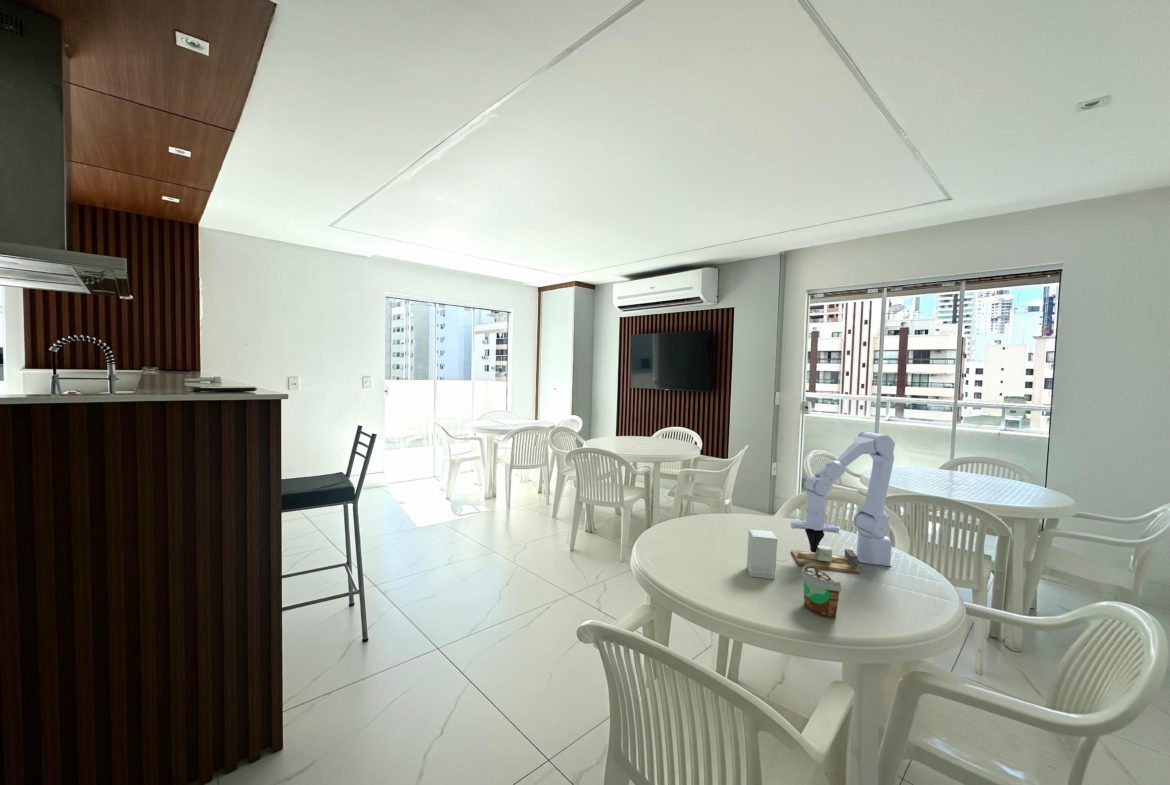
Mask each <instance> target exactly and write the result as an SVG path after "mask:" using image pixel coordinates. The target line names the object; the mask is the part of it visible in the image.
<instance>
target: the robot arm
mask: <svg viewBox="0 0 1170 785" xmlns="http://www.w3.org/2000/svg"><path fill="white" fill-rule="evenodd" d="M895 445H896V443H895V441H894V440H893V439H892V437H891V436H890V435H888V434H883V433H875V432H869V431H866V430H864V431H861V432H860V433H859V434H858V435H856V436H855V437H854V438H853V442H852V443H851V444H850V445H849V446H848V447H847V448H846V449H845V451H843V453H842V454H841V455H840V456H839V457H838V458H837V459H836V460H829V461H826V462H825V465H823V466H822V467H821V468H820V469H819V470H818V471H816V472H814V474H812V475H809V476H807V477H806V478H805V480H804V482H803V488H804V489H805V491H806V492H805V494H806V504H805V520H804V521H793V520H792V521H790V527H791V529H797V530H798V529H800V530H804V531H805V534H806V536H807V539H808V542H809V549H810V552H814V553H816V550H817V547H818V545H819V544H820V542H821V541H822V539H823V538H824V537H825V533H824V532H826V533H834V534H838V535H839V534H840V527H839V525H838V526H837V525H831V524H825V522H826V521H825V519H826V518H825V517H826V503H827V502H826V501H827V495H828V494H829V493H830V492H831V490H832V487H833V486H834V483H835V482H836V481H838V480H839V479H840V478H841V477H842V476H843V475H845V472H846V471H845V468H847V467H848V466H849V465H851V464H852V463H854V461H856V460H857V459H858V458H860V457H861V456H862V455H869V456H870V457H871V459H872V460H873V465H872V468H871V473H870V474H871V475H870V478H869V482H868V488H867V492H866V498H865V503H864V504H863V505H861V506H859V507H858V508H857V513H855V515H854V517H853V525H854V527H855V528H856V531H857V545H856V547H857V548H856V552H854V553H855V554H856V555H857V556H858V559H857V562H859V563H862V564H870V565H877V566H886V567H892V564H891V558H892V542H891V539H890V537H889V536H887V535H888V534H889V531H890V524H889V522H890V521H889V519H890V516H889V515H888V514H887V512H886V510H885V504H886V500H887V494H888V490H889V485H890V481H891V475H892V470H893V466H894V462H895V456H894V449H895Z"/></svg>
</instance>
